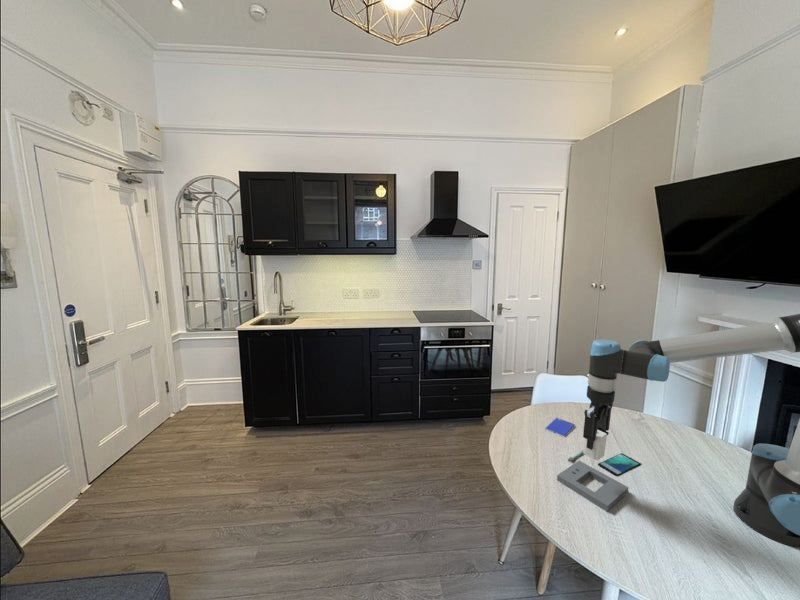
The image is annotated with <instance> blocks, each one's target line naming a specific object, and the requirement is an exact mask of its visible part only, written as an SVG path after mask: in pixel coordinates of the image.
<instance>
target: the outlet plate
mask: <svg viewBox="0 0 800 600" xmlns="http://www.w3.org/2000/svg"><path fill="white" fill-rule="evenodd" d="M556 477H557V478H556V481H558V482H559V483H561V484H562V485H564V486H566V487H567V488H569V489H570V490H572V491H573V492H575V493H576V494H578V495H580V496H581V497H583V498H584V499H586V500H588V501H589V502H591V503H592V504H594V505H596V506H597V507H598V508H601V509H602V510H603V511H605V512H609V511H610V510H611V509H612V508H613V507H614V506H615V505H616V504H618V503H619V502H620V500H621V499H623V498H624V497H625V496H626V495H627V494H629V486H627V485H626V484H623V483H622V482H619V481H618V480H616V479H614V478H612V477H610V476H608V475H607V474H604V473H603V472H602V471H600V470H597V469H596V468H594V467H592V466H590V465H588V464H586V463H585V462H583V461H581V460H577V461H576V462H574V463H573V464H571V465H570V466H569V467H567V468H566V469H564V470H562V471H561V472H559V473H558V474H557V476H556ZM588 477H590V478H591V479H594V480H596V481H597V482H599V483H600V484H603V485H602V486H600V487H599V488H597V490H595V491H593V490H592V489H590V488H589V487H586V486H585V485H583V484H582V482H583V481H584V480H586V479H587V478H588Z"/></svg>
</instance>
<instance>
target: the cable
mask: <svg viewBox="0 0 800 600" xmlns="http://www.w3.org/2000/svg"><path fill="white" fill-rule="evenodd" d="M583 454H584V453H583V450H581V451H580V452H578V453H576V454H575V455H574V456H570V457H568V459H567V461H568V462H570V463H573V462H574V461H575V460H576V459H577V458H579V457H580V456H581V455H583Z"/></svg>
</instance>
